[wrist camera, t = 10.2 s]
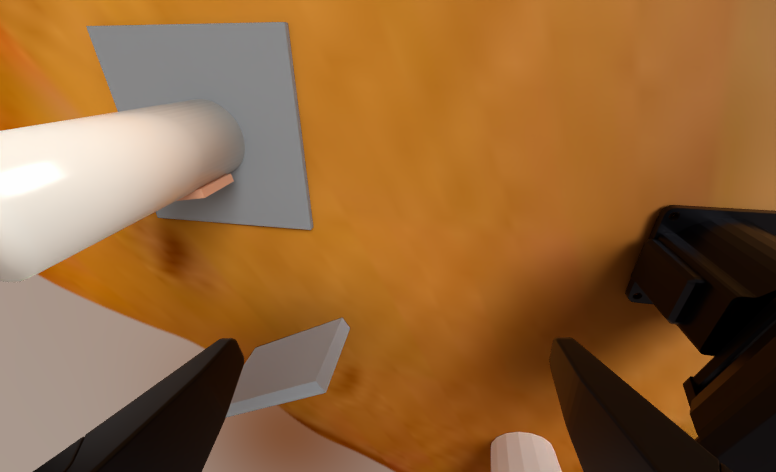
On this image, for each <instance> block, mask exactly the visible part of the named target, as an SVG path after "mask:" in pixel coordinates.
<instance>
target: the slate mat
mask: <svg viewBox="0 0 776 472" xmlns="http://www.w3.org/2000/svg"><path fill="white" fill-rule="evenodd" d="M86 27H87V30H88V32H89V35H90V38H91V40H92V43H93V46H94V48H95V51H96V54H97V56H98V59H99V62H100V64H101V67H102V70H103V72H104V75H105V78H106V80H107V83H108V86H109V88H110V91H111V94H112V97H113V99H114V102H115V105H116V107H117V110H118V112H120V111H127V110H133V109H139V108H145V107H151V106H157V105H164V104H170V103H176V102H182V101H188V100H194V99H205V100H209V101H212V102H214V103H216V104H218V105H220V106H221V107H223V108H224V109H225V110H227V111H228V112H229V113H230V114H231V115H232V117H233V118H234V119H235V121H236V122H237V124H238V125H239V127H240V129H241V132H242V134H243V138H244V143H245V153H244V158H243V160H242V162H241V164H240V165H239V167H238V168H237V169H235V170H234V171H232V172H230V173H231V175H232V177H233V180H234V181H233V182H232V183H230V184H228V185H226V186H225V187H223V188H221V189H219V190H218V191H216V192H214V193H213V194H211V195H209V196H207V197H206V198H200V199H190V200H181V201H175V202H173V203H171V204H169V205H167V206H166V207H164V208H162V209H160V210H158V211H156V214H157V217H158V218H169V219H181V220H194V221H206V222H219V223H231V224H244V225H256V226H269V227H281V228H294V229H306V230H311V229H312V228H313V221H312V213H311V205H310V197H309V189H308V181H307V173H306V165H305V157H304V149H303V141H302V133H301V125H300V117H299V109H298V101H297V93H296V85H295V77H294V69H293V61H292V53H291V45H290V37H289V29H288V23H286V22H268V23H219V24H171V25H123V26H86ZM230 173H228V174H230Z"/></svg>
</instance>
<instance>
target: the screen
mask: <svg viewBox="0 0 776 472" xmlns="http://www.w3.org/2000/svg"><path fill="white" fill-rule="evenodd" d="M349 330H350V327H349V326H348V325H347V323H346V322H345V321H344V319H343V318H340V319H337V320H334V321H331V322H328V323H325V324H323V325H320V326H317V327H314V328H311V329H308V330H305V331H302V332H300V333H297V334H294V335H291V336H288V337H285V338H282V339H280V340H277V341H274V342H271V343H268V344H265V345H262V346H259V347H257V348H255V349H254V351H253V352H252V354H251V355H250V357H249V358H248V360H247V361H246V363H245V364H244V366H243V369H242V372H241V375H240V378H239V381H238V383H237V386H236V389H235V392H234V395H233V398H232V401H231V404H230V407H229V410H228V413H227V415H226V417H230V416H234V415H238V414H242V413H246V412H250V411H254V410H258V409H262V408H266V407H270V406H274V405H278V404H282V403H286V402H290V401H295V400H299V399H303V398H307V397H311V396H315V395H319V394H323V393H326V391H327V388H328V386H329V383H330V380H331V378H332V375H333V372H334V370H335V367H336V364H337V362H338V359H339V356H340V354H341V351H342V348H343V346H344V343H345V341H346V338H347V335H348V333H349Z"/></svg>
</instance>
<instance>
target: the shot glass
mask: <svg viewBox="0 0 776 472" xmlns="http://www.w3.org/2000/svg"><path fill="white" fill-rule="evenodd" d="M491 472H562V471H561V468H560V465H559V462H558V460H557V457H556V454H555V451H554V449H553V447H552V445H551V443H550V442H548V441H547V440H546V439H544V438H543V437H541V436H538V435H535V434H532V433H525V432H512V433H505V434H503V435H501V436H499V437H496V439H495V440H494V441H493V442H492V443H491Z"/></svg>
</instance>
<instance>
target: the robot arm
mask: <svg viewBox="0 0 776 472" xmlns="http://www.w3.org/2000/svg"><path fill="white" fill-rule="evenodd" d="M673 212H675V214H674V216H672V217H669V215H670V214H671V213H673ZM631 277H632V278H631V280H630V283H629V285H628V287H627V290H626V293H625V294H626V296H627V298H628V299H629V300H630V301H631V302H636V303H646V304H654V305H655V306H656V307H657V309H658V310H659V311H660V312H661V313H662V315H663V316H664V317H665V318H666V319H667V321H668V322H669V323H671V324H676V325H677V326H678V327H679V328H680V329H681V331H682V332H683V333H684V334H685V335H686V336H687V338H688V339H689V340H690V341H691V342H692V343H693V345H694V346H695V347H696V348H697V349H698V351H699V352H700V353H701V354H704V355H711V356H714V357H713V358H712V359H711V360H710V361H709V362H708V363H707V364H706V365H705V366H704V367H703V368H702V369H701V370H700V371H699V372H698V373H697V374H696V375H695V376H694V377H689V378H688V379H687V380H686V381H685V382H684V383H683V387H684V390H685V393H686V396H687V399H688V403H689V406H690V416H691V419H692V421H693V424H694V427H695V430H696V433H697V435H698V437H697V438H696V439H695V440H694V439H693V438H692V437H691V436H689V435H688V434H687V433H686V432H685V431H683V430H682V429H681V428H680V427H679V426H677V425H676V424H675V423H674V422H673V421H671V420H670V419H669V418H668V417H667V416H665V415H664V414H663V413H662V412H661V411H659V410H658V409H657V408H656V407H655V406H653V405H652V404H651V403H650V402H649V401H647V400H646V399H645V398H644V397H643V396H641V395H640V394H639V393H638V392H637V391H635V390H634V389H633V388H632V387H631V386H629V385H628V384H627V383H626V382H625V381H623V380H622V379H621V378H620V377H619V376H617V375H616V374H615V373H614V372H613V371H611V370H610V369H609V368H608V367H607V366H605V365H604V364H603V363H602V362H601V361H599V360H598V359H597V358H596V357H595V356H593V355H592V354H591V353H590V352H589V351H587V350H586V349H585V348H584V347H583V346H581V345H580V344H579V343H578V342H577V341H575V340H574V339H573V338H570V337H556V338H554V340H553V343H552V349H551V354H550V359H549V362H550V368H551V372H552V376H553V380H554V383H555V387H556V391H557V394H558V398H559V402H560V405H561V409H562V413H563V417H564V420H565V423H566V427H567V430H568V432H569V435H570V438H571V440H572V443H573V446H574V448H575V451H576V453H577V456H578V458H579V461H580V464H581V466H582V469H583V471H584V472H776V211H768V210H750V209H733V208H716V207H699V206H681V205H669V206H667V207H665V208H663V209H662V210H661V212H660V214H659V216H658V218H657V220H656V223H655V225H654V227H653V230H652V232H651V234H650V237H649V239H648V240H647V241H646V242H645V244H644V246H643V249H642V251H641V253H640V256H639V258H638V260H637V263H636V265H635V267H634V270H633V272H632V274H631ZM636 293H638V294H637V295H634V294H636ZM243 365H244V356H243V354H242V352H241V349H240V347H239V345H238V343H237V341H236V340H235V339H233V338H222V339H219V340H218V341H216V342H215V343H213V344H212V345H211V346H209V347H208V348H206V349H205V350H204V351H202V352H201V353H199V354H198V355H197V356H195V357H194V358H192V359H191V360H190V361H188V362H187V363H185V364H184V365H183V366H181V367H180V368H179V369H177V370H176V371H174V372H173V373H172V374H170V375H169V376H168V377H166V378H164V379H163V380H162V381H160V382H159V383H157V384H156V385H155V386H153V387H152V388H150V389H149V390H148V391H146V392H145V393H143V394H142V395H141V396H139V397H138V398H137V399H135V400H134V401H132V402H131V403H130V404H128V405H127V406H125V407H124V408H122V409H121V410H120V411H118V412H117V413H115V414H114V415H113V416H111V417H110V418H108V419H107V420H106V421H104V422H103V423H101V424H100V425H99V426H97V427H96V428H94V429H93V430H92V431H90V432H89V433H87V434H86V435H85V437H82V438H80V439H79V440H78V441H76V442H75V443H73V444H72V445H70V446H69V447H68V448H66V449H65V450H63V451H62V452H61V453H59V454H58V455H56V456H55V457H53V458H52V459H51V460H49V461H48V462H46V463H45V464H44V465H42V466H40V467H39V468H38V469H36V470H35V471H33V472H202V469H203V468H204V465H205V463H206V461H207V458H208V456H209V454H210V452H211V450H212V447H213V445H214V443H215V441H216V438H217V436H218V434H219V432H220V429H221V427H222V425H223V423H224V420H225V418H226V415H227V413H228V410H229V407H230V404H231V401H232V398H233V395H234V392H235V389H236V386H237V383H238V381H239V378H240V375H241V372H242V369H243Z"/></svg>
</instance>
